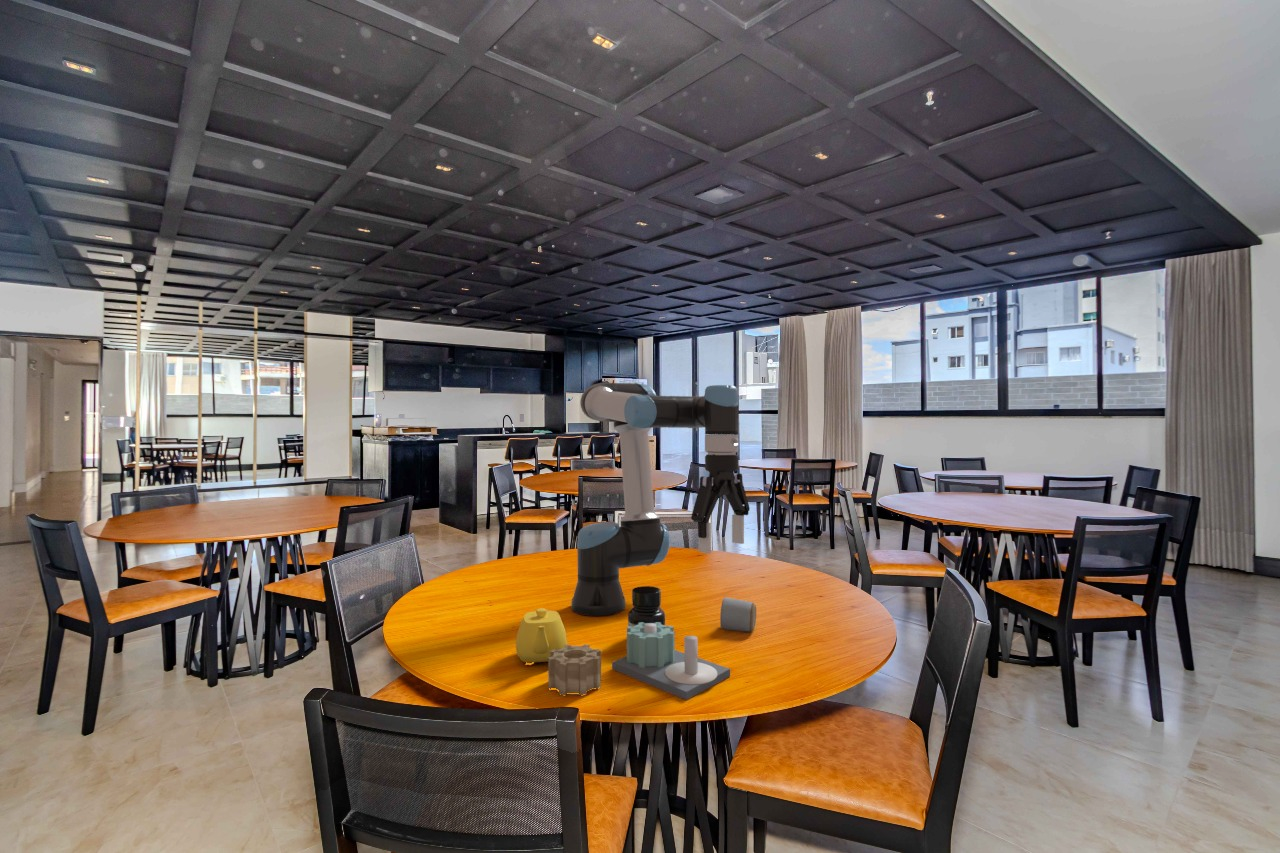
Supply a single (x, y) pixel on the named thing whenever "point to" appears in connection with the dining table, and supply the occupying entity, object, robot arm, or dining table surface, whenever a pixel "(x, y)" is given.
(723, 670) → the gear board
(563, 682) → the birch gear
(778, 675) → the dining table surface
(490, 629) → the dining table surface
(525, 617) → the teapot
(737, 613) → the ceramic mug
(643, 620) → the ink bottle
